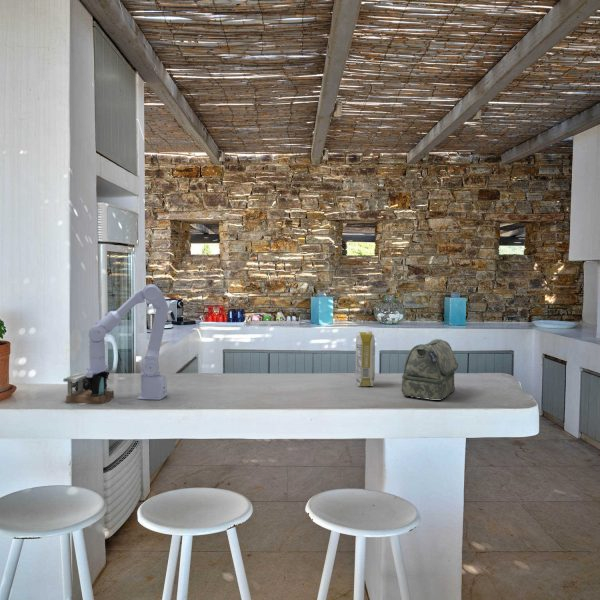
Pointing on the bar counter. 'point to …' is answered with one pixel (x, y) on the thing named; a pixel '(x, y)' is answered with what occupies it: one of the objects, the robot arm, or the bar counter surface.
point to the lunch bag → (429, 370)
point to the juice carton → (365, 358)
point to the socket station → (85, 392)
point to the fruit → (86, 385)
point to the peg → (101, 387)
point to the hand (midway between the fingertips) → (98, 392)
